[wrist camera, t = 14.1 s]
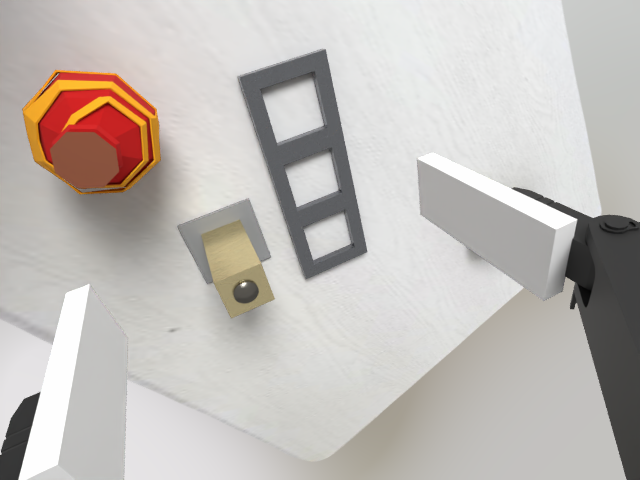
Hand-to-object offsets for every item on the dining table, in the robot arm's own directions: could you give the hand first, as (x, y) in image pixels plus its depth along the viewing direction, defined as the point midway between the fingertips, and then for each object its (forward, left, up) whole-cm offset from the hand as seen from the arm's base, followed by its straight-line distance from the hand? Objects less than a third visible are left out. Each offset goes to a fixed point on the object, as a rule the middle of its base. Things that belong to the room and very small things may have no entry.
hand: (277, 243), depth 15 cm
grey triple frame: (+10, -12, -32) cm, 36 cm away
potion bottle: (-9, +2, -32) cm, 33 cm away
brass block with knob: (-3, -16, -31) cm, 36 cm away
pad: (-3, -16, -32) cm, 36 cm away
